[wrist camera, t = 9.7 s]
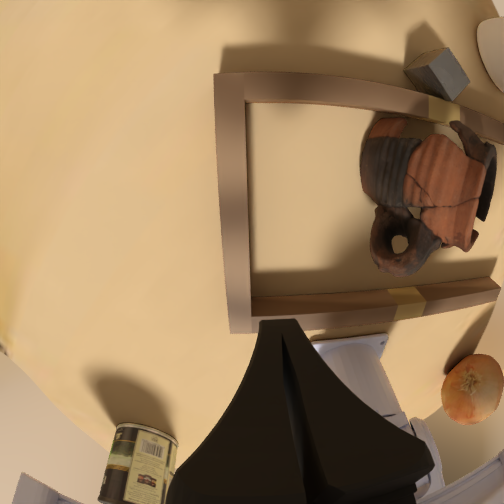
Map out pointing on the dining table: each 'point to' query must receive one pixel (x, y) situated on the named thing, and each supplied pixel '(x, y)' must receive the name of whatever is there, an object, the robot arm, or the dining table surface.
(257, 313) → the walnut slot beam
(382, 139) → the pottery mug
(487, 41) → the pill bottle
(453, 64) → the block
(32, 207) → the dining table surface
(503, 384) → the onion
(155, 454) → the coffee can
